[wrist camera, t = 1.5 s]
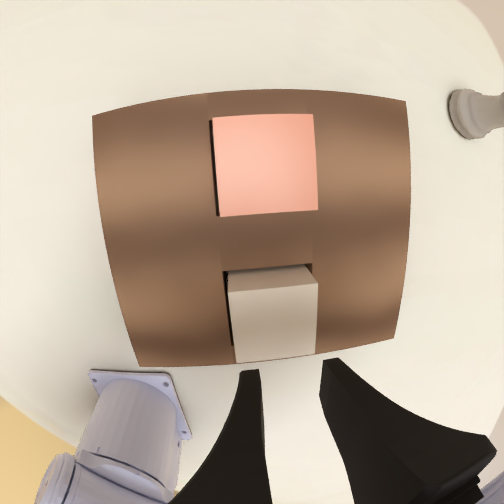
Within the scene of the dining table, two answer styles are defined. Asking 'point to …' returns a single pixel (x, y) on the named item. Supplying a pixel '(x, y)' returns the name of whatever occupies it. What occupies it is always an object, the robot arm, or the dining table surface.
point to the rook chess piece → (476, 112)
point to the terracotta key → (265, 163)
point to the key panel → (251, 220)
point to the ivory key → (273, 312)
